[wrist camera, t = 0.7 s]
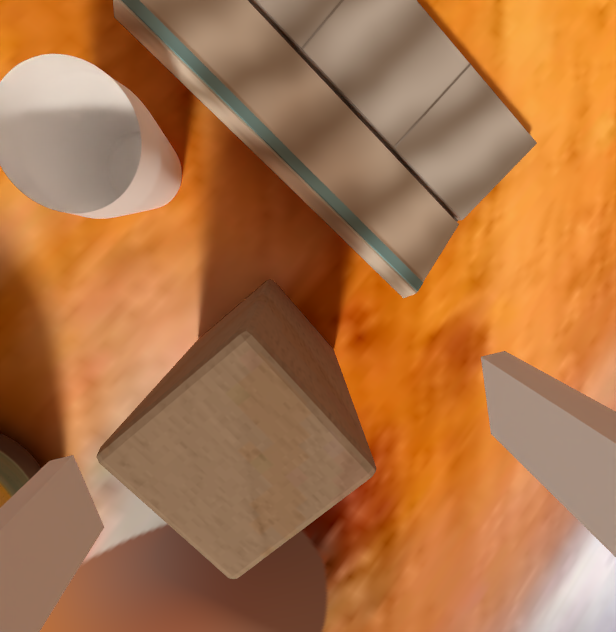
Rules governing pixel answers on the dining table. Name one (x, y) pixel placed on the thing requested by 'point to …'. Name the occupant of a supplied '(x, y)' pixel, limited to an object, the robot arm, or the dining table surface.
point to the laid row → (408, 91)
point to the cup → (82, 140)
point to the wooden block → (245, 435)
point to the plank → (297, 129)
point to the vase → (14, 467)
